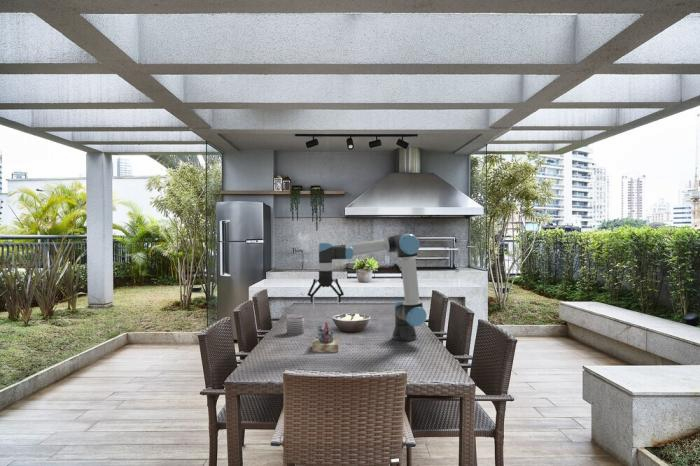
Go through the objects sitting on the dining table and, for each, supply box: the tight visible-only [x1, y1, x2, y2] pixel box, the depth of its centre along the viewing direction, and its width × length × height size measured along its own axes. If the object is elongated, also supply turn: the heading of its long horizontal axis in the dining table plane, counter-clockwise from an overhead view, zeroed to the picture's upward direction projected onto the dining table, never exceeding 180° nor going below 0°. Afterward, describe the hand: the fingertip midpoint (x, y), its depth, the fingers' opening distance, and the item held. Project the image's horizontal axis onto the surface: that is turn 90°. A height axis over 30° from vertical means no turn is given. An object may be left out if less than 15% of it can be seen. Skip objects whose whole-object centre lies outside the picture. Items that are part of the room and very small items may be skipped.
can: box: [286, 313, 305, 336], centre depth 310 cm, size 11×11×12 cm
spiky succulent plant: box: [315, 321, 336, 343], centre depth 269 cm, size 11×11×12 cm
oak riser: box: [311, 338, 339, 353], centre depth 268 cm, size 14×15×4 cm
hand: (325, 308), depth 268 cm, fingers open, 13 cm apart
